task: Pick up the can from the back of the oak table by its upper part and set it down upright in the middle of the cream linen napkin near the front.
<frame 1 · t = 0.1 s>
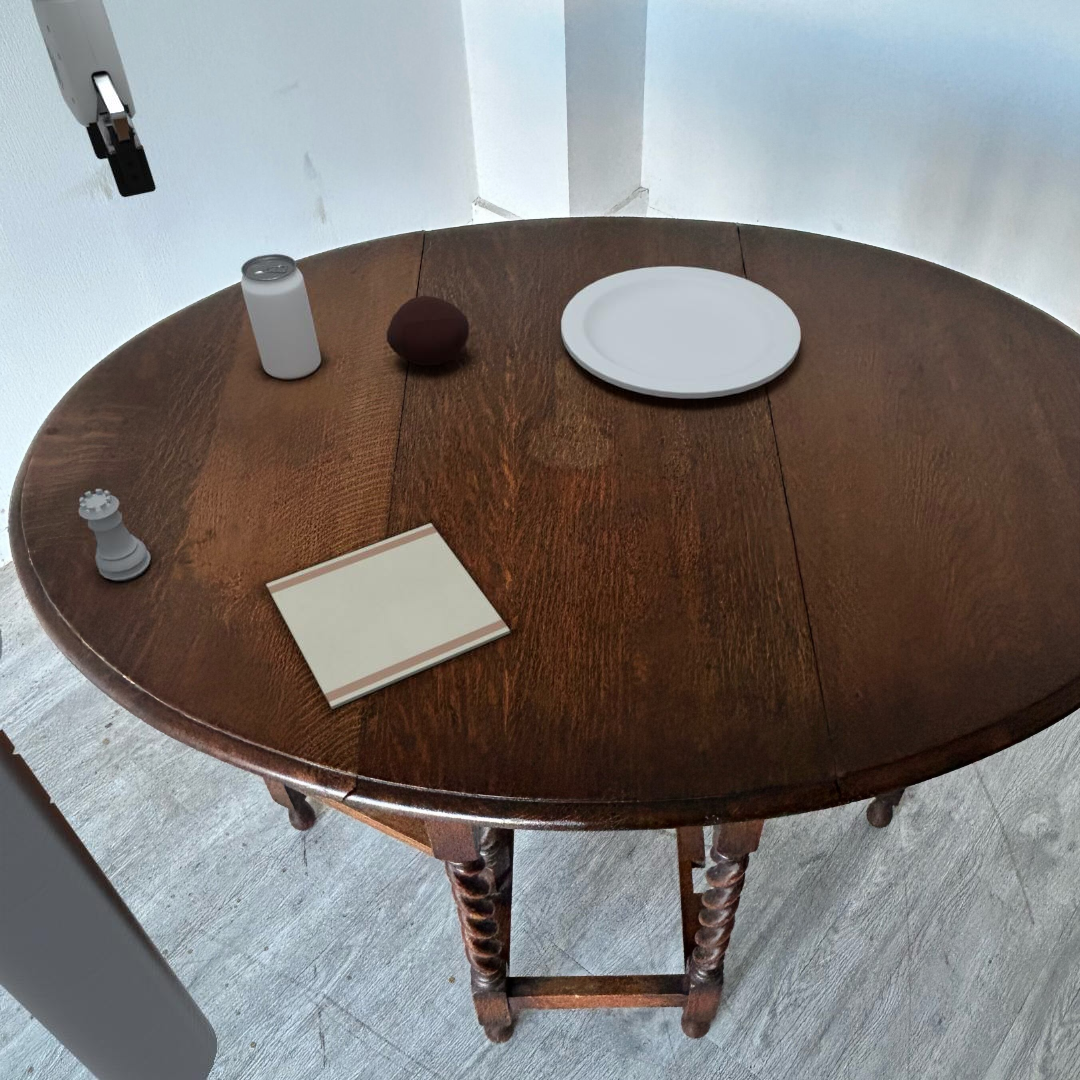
hand: (125, 173, 95), 22 cm above the table, tool pointing down, fingers open, 9 cm apart
can: (293, 366, 112), on the table
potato: (431, 362, 113), on the table
napkin: (386, 609, 86), on the table
plate: (679, 343, 117), on the table
rook chess piece: (127, 567, 89), on the table
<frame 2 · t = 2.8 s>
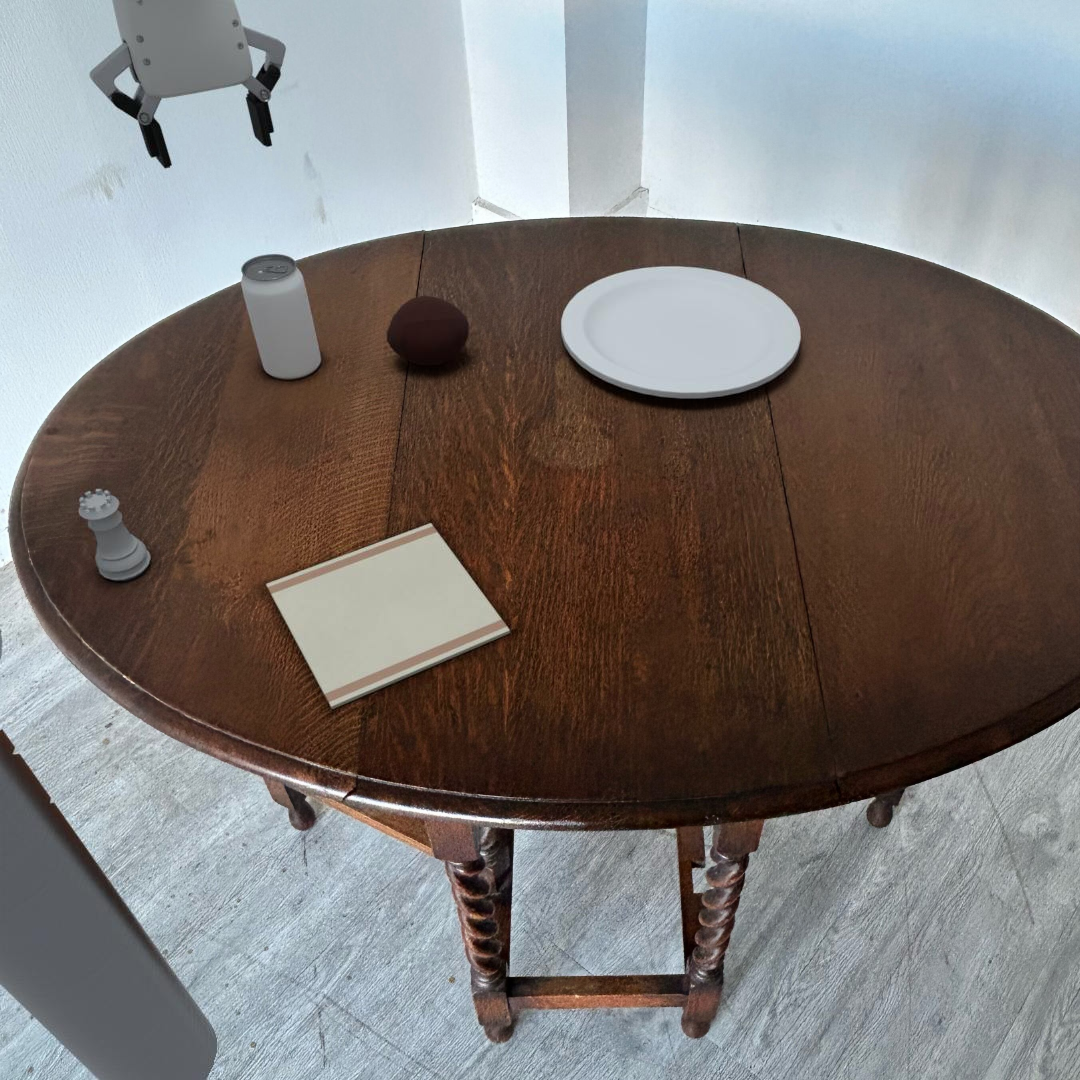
hand: (214, 152, 95), 24 cm above the table, tool pointing down, fingers open, 9 cm apart
nothing on the table moved.
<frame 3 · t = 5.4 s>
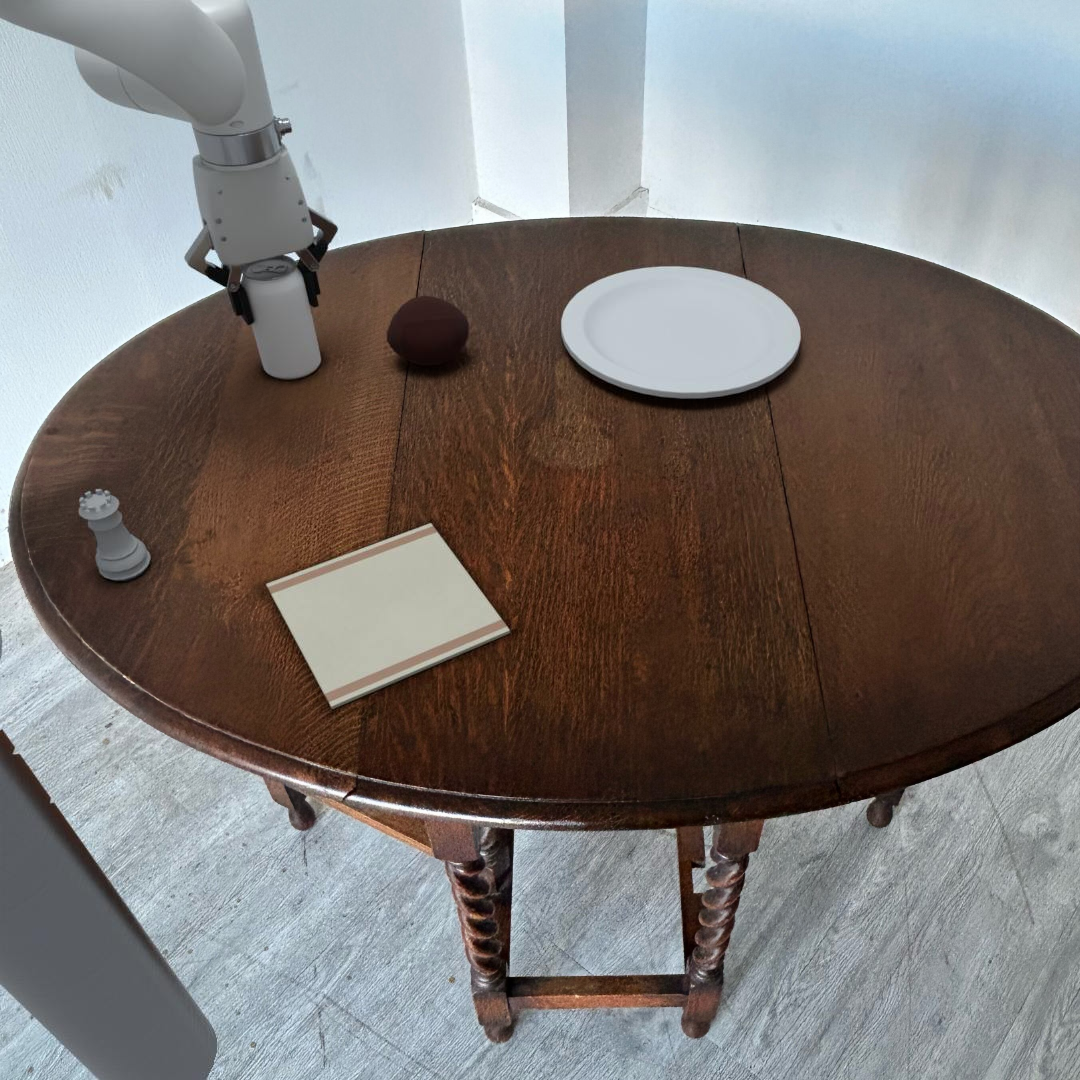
hand: (279, 309, 107), 7 cm above the table, tool pointing down, fingers closed on can, 6 cm apart
can: (293, 366, 112), on the table, touching gripper
everything else where it was.
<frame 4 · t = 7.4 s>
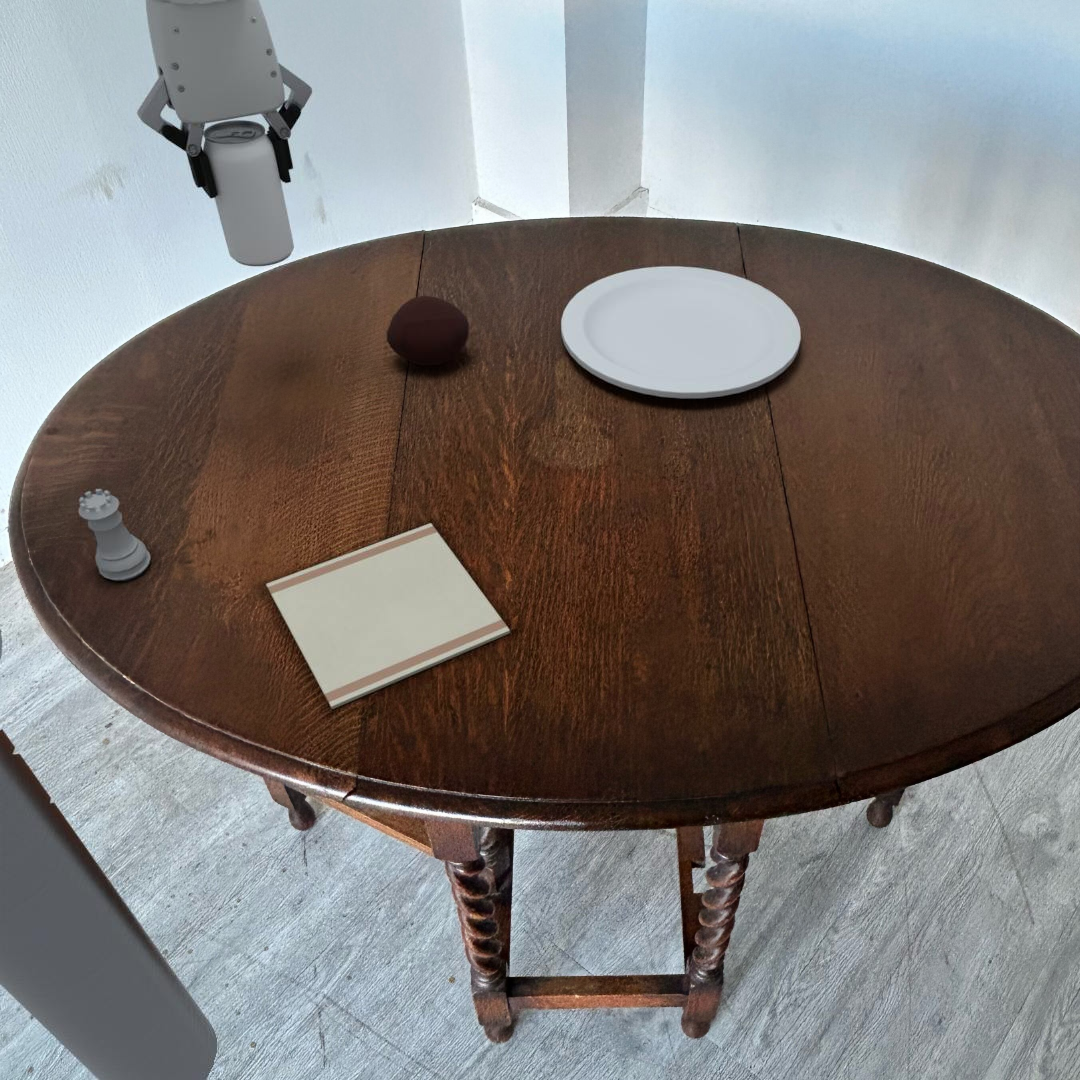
hand: (246, 183, 96), 21 cm above the table, tool pointing down, fingers closed on can, 6 cm apart
can: (263, 255, 101), point 14 cm above the table, touching gripper
everything else where it was.
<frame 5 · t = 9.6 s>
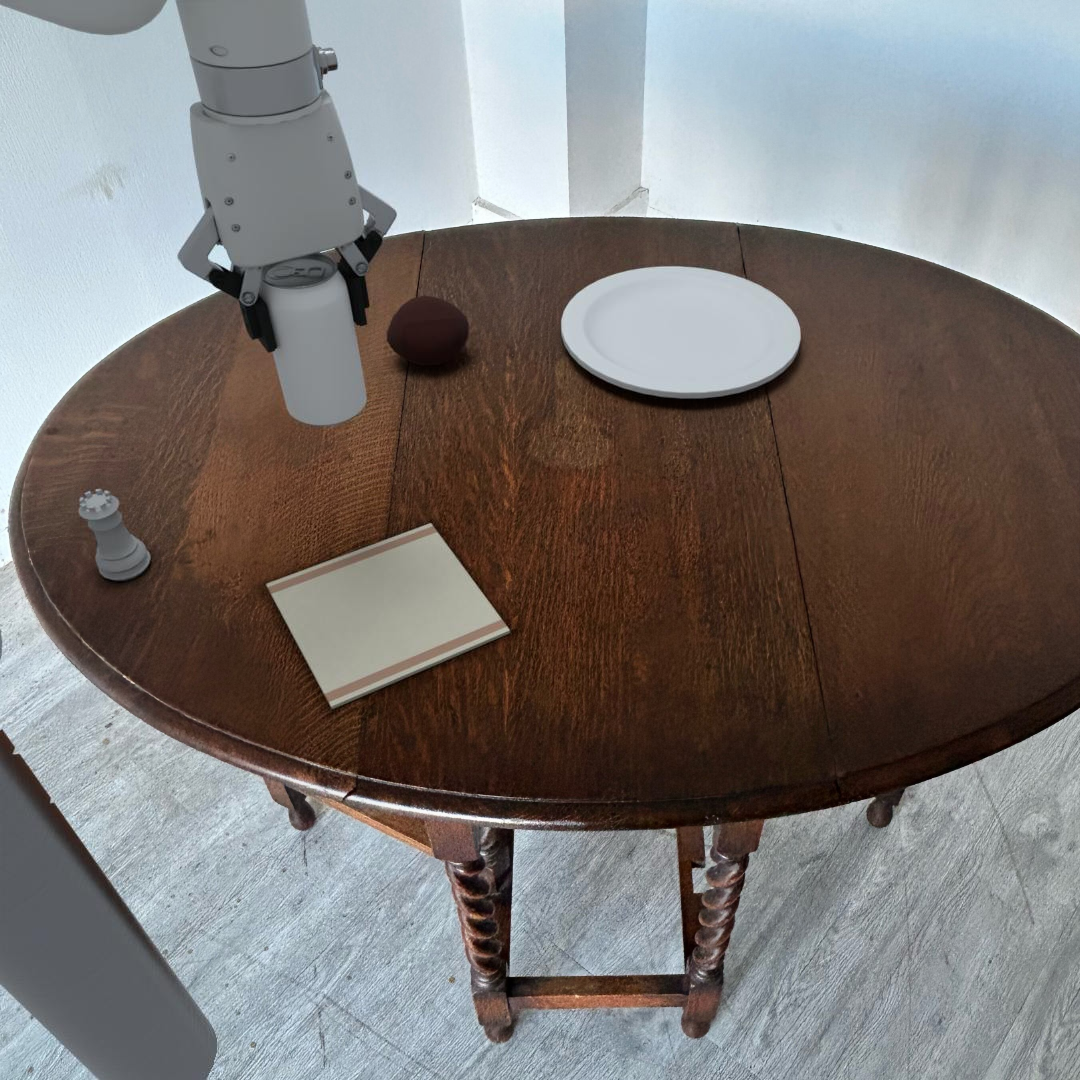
hand: (311, 328, 76), 22 cm above the table, tool pointing down, fingers closed on can, 6 cm apart
can: (328, 407, 81), point 15 cm above the table, touching gripper
everything else where it was.
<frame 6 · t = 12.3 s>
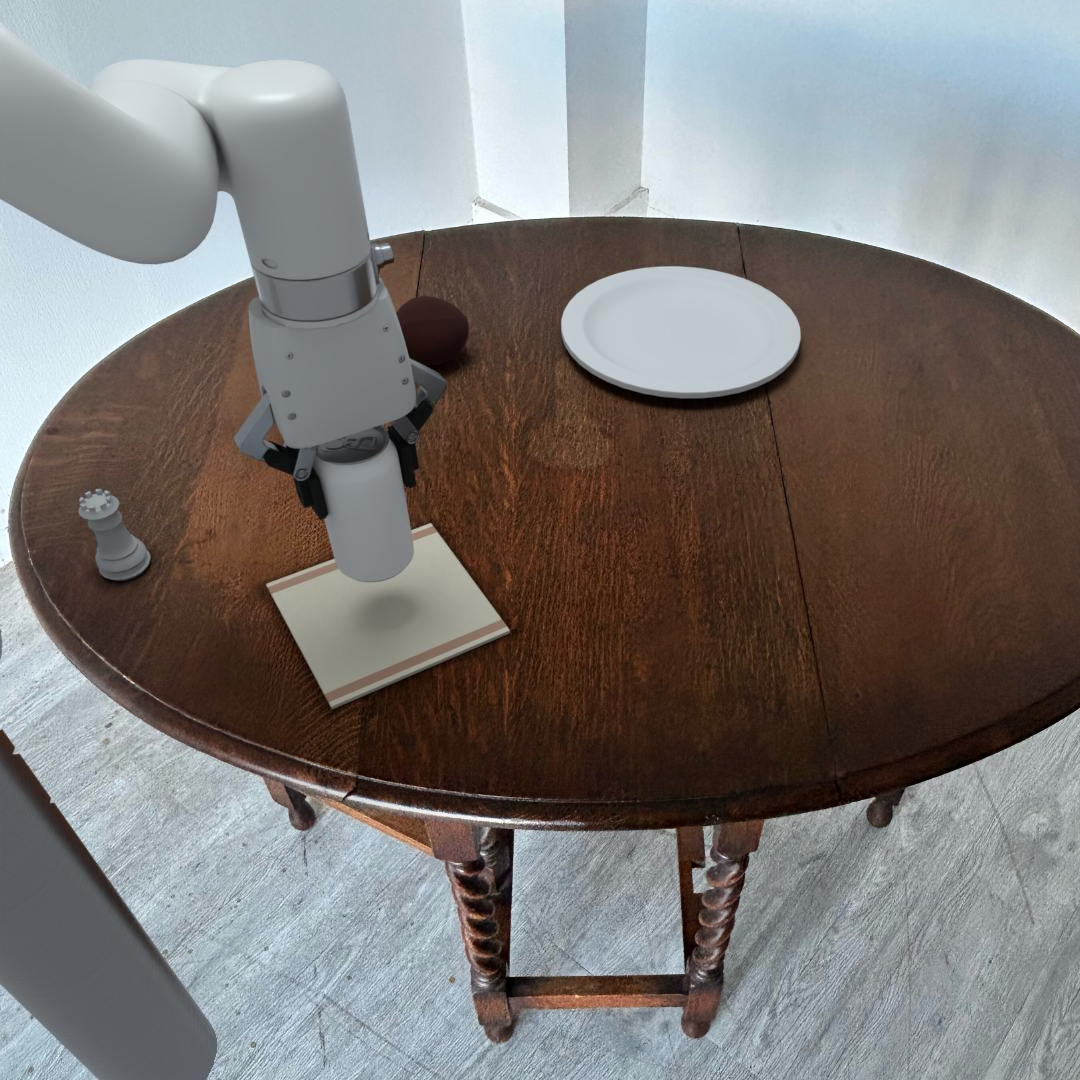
hand: (361, 491, 76), 13 cm above the table, tool pointing down, fingers closed on can, 6 cm apart
can: (375, 559, 82), point 6 cm above the table, touching gripper
everything else where it was.
when the fingers open (7 cm above the table, at t = 14.3 s): can stays where it is, resting on napkin.
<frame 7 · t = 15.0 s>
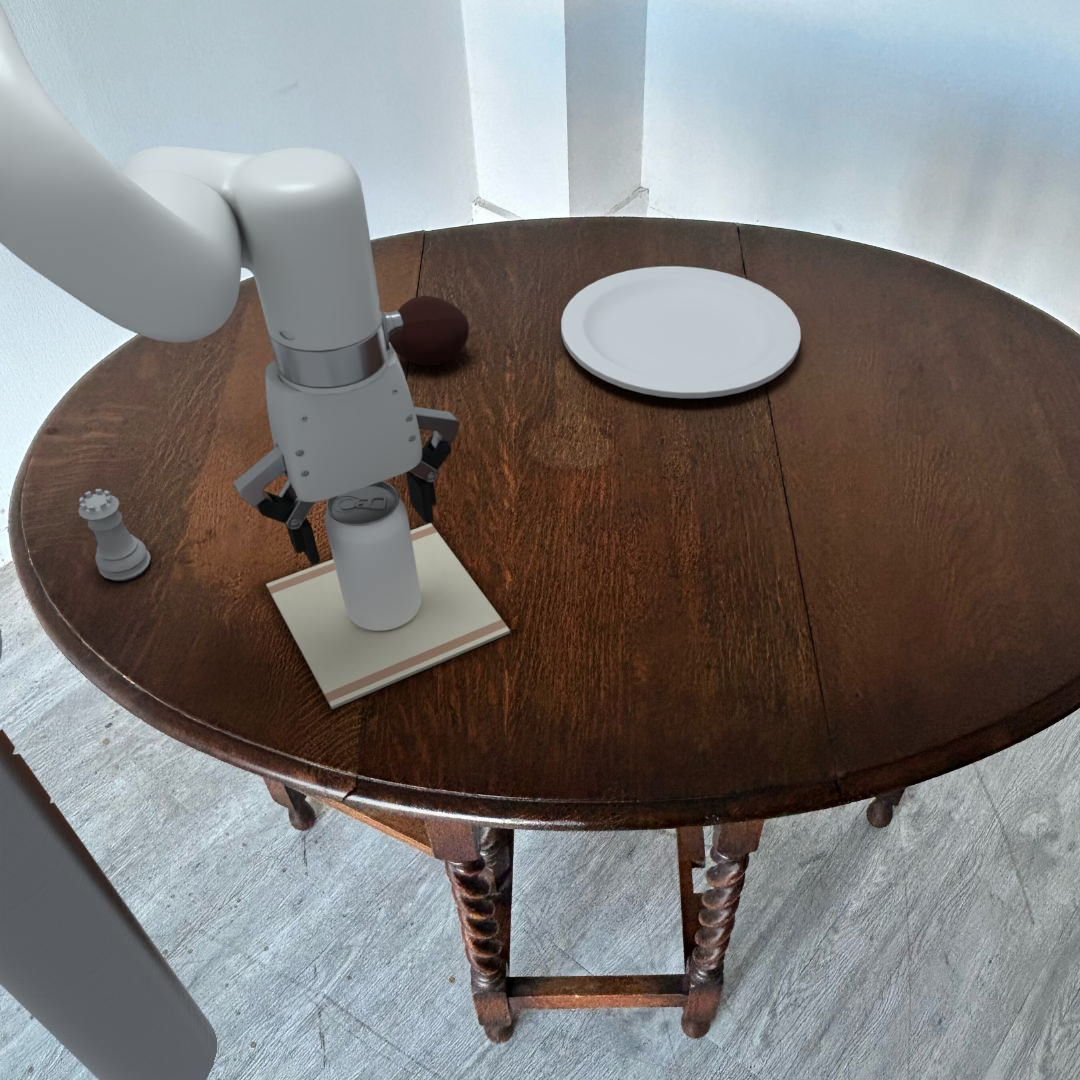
hand: (367, 533, 79), 9 cm above the table, tool pointing down, fingers open, 9 cm apart
can: (384, 608, 86), resting on napkin
everything else where it was.
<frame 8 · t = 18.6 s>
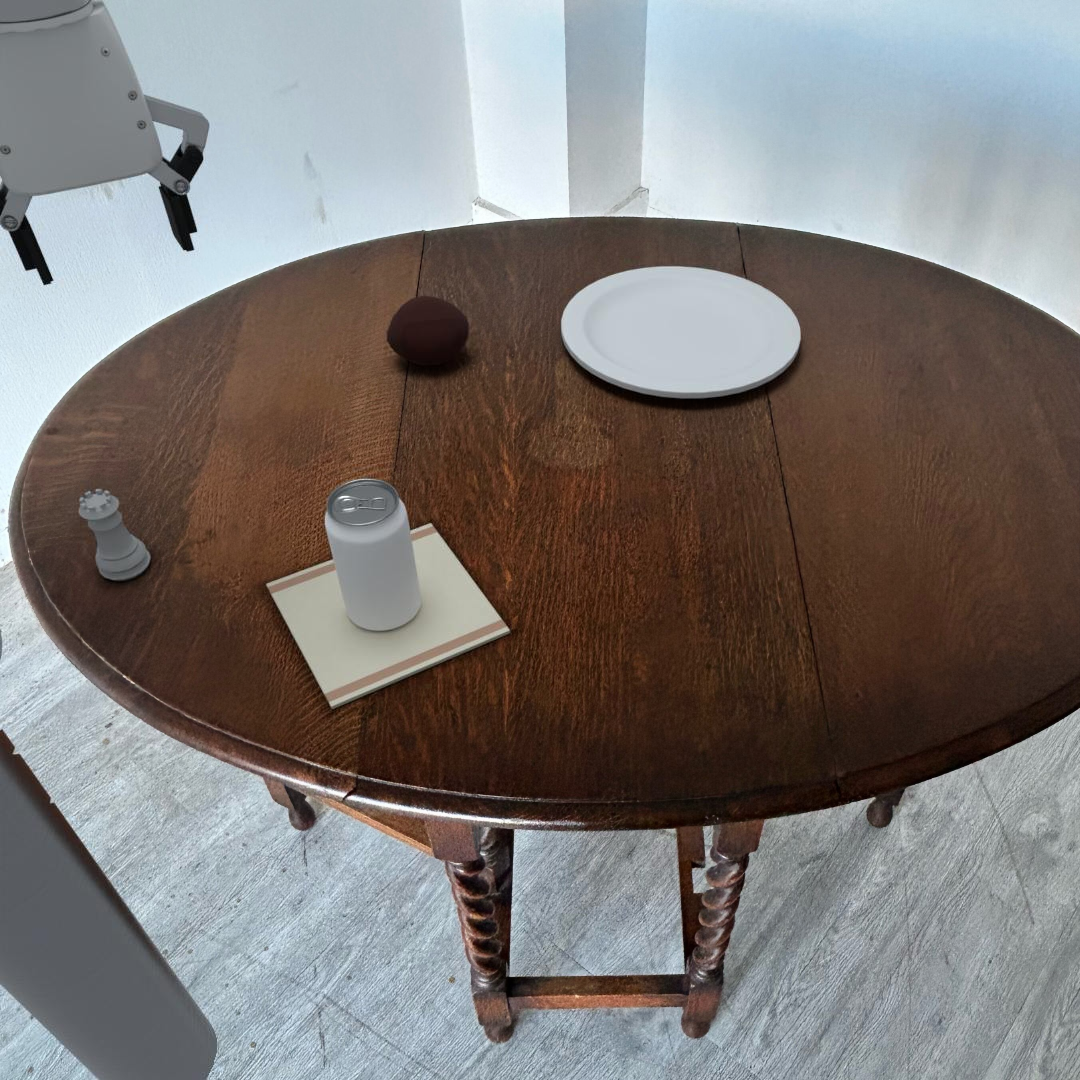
hand: (116, 259, 71), 28 cm above the table, tool pointing down, fingers open, 9 cm apart
nothing on the table moved.
at the end: can inside the target area on the napkin (0.1 cm from its centre), point 0.2 cm above the napkin's base; can tilted 0°; the gripper is holding nothing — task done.
